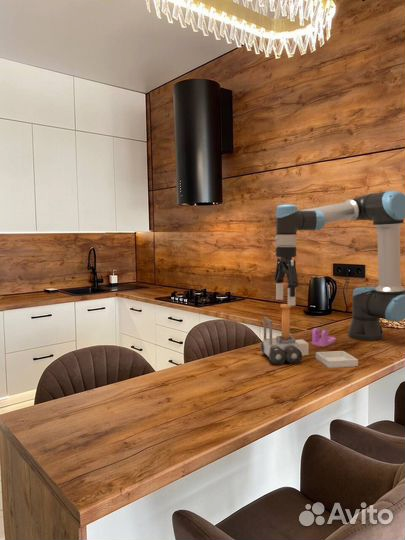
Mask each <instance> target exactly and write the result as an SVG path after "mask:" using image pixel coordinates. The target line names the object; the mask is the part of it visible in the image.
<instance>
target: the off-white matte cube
mask: <svg viewBox="0 0 405 540" xmlns="http://www.w3.org/2000/svg"><path fill="white" fill-rule="evenodd" d="M295 341H296V342H297V343H298V344H299V350H300V351H301V353H302V357H305V356H304V355H308V356H309V342H308V341H305V340H304V339H302V338H301V339H295Z"/></svg>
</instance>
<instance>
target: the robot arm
mask: <svg viewBox="0 0 405 540" xmlns="http://www.w3.org/2000/svg"><path fill="white" fill-rule="evenodd" d="M275 214H276V215H275V216H276V217H275V219H276V220H275V221H276V222H275V223H276V224H275V225H276V227H275V232H276V235H275V236H276V237H275V238H274V241H276V242H275V245H276V247H275V257H277V259H276V268H275V271H274V272H275V273H274V277H273V278H274V281H275V284H276V285H275V287H276V288H275V300H278V301H279V300H280V301H283V300H284V284H285V281H284V278H285V276H286V280H287V284H288V285H287V286H286V288H287V304H288V306H291V307H292V306H293V307H294V306H296V301H297V300H296V299H297V298H296V295H297V287H299V280H298V271H297V267H296V264H297V263H296V260H295V259H293V258H296V256H297V247H296V246H297V243H298V239H297V238H298V234H297V233H298V231H302V232H303V231H304V232H305V231H306V232H308V231H313V232H315V231H321V230H322V229H323V228H324V227H325V225H326V224H332V223H338V222H344V221H349V222H355V221H368V222H370V221H372V226H373V227H375V228H376V230H377V231H376V232H377V233H376V234H377V267H378V269H377V271H378V272H377V273H378V285H377V286H367V287H356V288H354V289H353V291H352V320H351V322H350V325H349V327H348V330H347V336H348V337H349V338H350V339H354V340H358V341H371V342H373V341H374V342H375V341H382V340H383V339H384V330H383V328H382V325H381V320H380V319H382V320H386V321H389V322H402V321H404V320H405V287H404V286H403V285H402V283H401V282H402V275H401V272H402V271H401V233H400V232H401V231H400V230H401V229H400V228H401V227H402V226H403V225H404V222H405V193H403V192H401V191H398V190H397V191H396V190H394V191H393V190H392V191H391V190H388V191H383V192H376V193H373V192H372V193H369V194H364V195H362V196H358V197H353V198H349V199H346V200H345V201H344V202H340V203H334V204H329V205H323V206H318V207H312V208H306V209H301V210H300V209H299V210H298V205H296V204H280V205H277V208H276V213H275ZM292 259H293V260H292Z"/></svg>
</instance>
